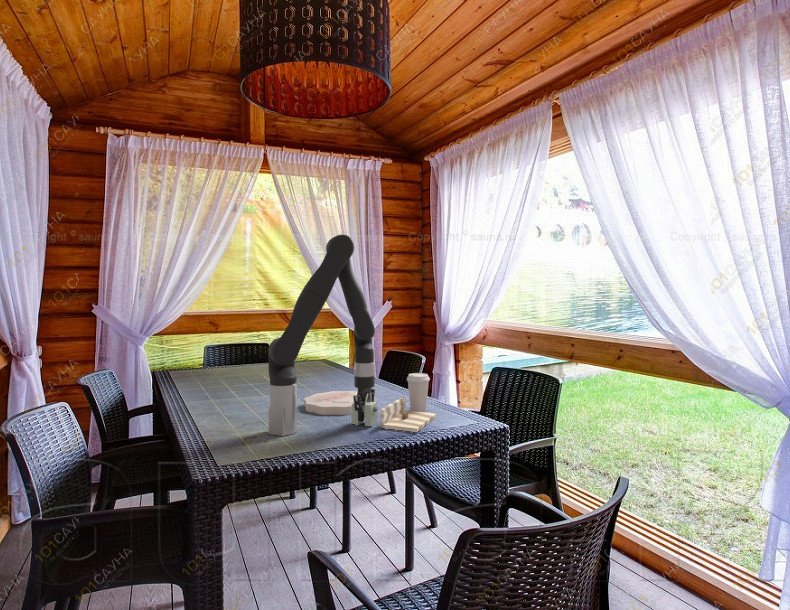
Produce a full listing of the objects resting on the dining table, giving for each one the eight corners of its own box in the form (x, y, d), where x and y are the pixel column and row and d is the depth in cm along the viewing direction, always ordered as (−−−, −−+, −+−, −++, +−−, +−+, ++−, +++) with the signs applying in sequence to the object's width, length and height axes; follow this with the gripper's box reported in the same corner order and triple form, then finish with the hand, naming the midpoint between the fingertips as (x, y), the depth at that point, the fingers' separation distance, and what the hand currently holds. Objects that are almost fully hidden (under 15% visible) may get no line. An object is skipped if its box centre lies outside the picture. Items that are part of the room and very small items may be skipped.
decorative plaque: (338, 388, 232) (388, 396, 214) (338, 395, 233) (388, 405, 214) (289, 399, 208) (341, 410, 190) (289, 408, 209) (341, 420, 190)
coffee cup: (403, 409, 206) (403, 373, 205) (423, 407, 209) (423, 372, 209) (412, 414, 197) (412, 377, 196) (433, 412, 201) (433, 376, 200)
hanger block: (373, 427, 179) (373, 405, 179) (351, 424, 183) (351, 403, 183) (379, 423, 184) (379, 402, 184) (357, 421, 188) (357, 400, 187)
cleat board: (417, 433, 173) (417, 413, 172) (380, 428, 178) (380, 409, 178) (436, 417, 193) (436, 399, 193) (403, 413, 198) (403, 396, 198)
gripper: (365, 378, 175) (365, 425, 176) (381, 371, 188) (381, 415, 189) (346, 376, 178) (346, 423, 178) (363, 370, 191) (363, 413, 192)
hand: (364, 419), depth 184 cm, fingers closed on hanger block, 5 cm apart
